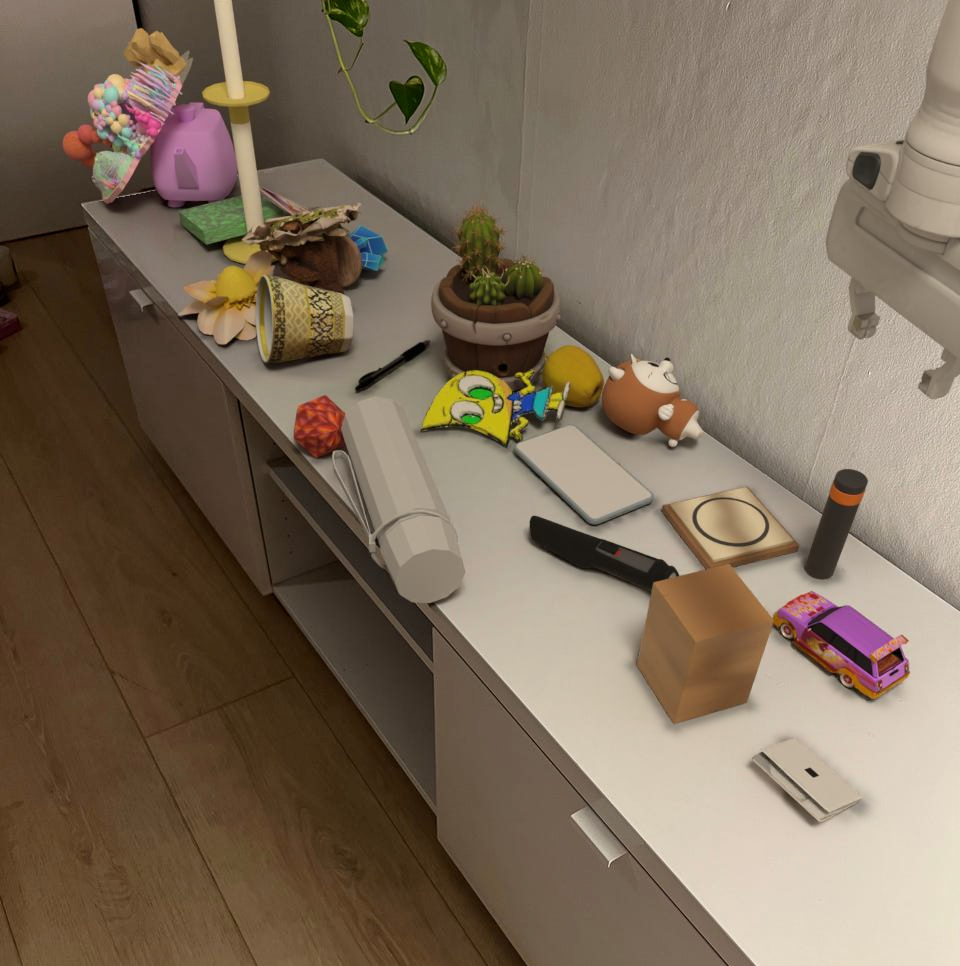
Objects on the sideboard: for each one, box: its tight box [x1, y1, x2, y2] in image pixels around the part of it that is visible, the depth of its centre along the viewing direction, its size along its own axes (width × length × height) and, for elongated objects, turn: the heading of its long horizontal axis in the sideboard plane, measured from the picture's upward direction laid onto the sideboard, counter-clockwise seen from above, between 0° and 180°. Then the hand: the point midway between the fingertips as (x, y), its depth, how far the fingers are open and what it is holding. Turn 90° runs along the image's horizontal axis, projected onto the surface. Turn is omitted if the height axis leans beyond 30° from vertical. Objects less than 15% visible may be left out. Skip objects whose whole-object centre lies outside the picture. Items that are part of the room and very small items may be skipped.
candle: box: [201, 0, 280, 265], centre depth 127 cm, size 10×10×38 cm
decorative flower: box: [176, 250, 287, 345], centre depth 127 cm, size 15×11×10 cm
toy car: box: [772, 590, 911, 700], centre depth 87 cm, size 6×12×5 cm, turn 35°
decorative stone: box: [293, 394, 346, 459], centre depth 106 cm, size 6×7×8 cm
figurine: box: [601, 353, 704, 448], centre depth 109 cm, size 9×9×12 cm
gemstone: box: [335, 224, 389, 288], centre depth 135 cm, size 7×9×12 cm
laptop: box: [751, 737, 863, 823], centre depth 78 cm, size 7×6×2 cm
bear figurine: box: [241, 201, 363, 295], centre depth 128 cm, size 14×15×12 cm
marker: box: [803, 468, 869, 580], centre depth 92 cm, size 3×3×11 cm
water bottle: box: [331, 396, 466, 604], centre depth 97 cm, size 9×8×25 cm
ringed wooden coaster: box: [661, 485, 800, 570], centre depth 100 cm, size 10×10×1 cm
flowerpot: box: [430, 197, 562, 398], centre depth 112 cm, size 14×15×20 cm
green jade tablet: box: [177, 194, 285, 245], centre depth 143 cm, size 11×12×2 cm
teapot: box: [150, 101, 238, 208], centre depth 148 cm, size 20×12×13 cm, turn 3°
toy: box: [420, 370, 571, 449], centre depth 110 cm, size 10×1×15 cm
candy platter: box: [61, 27, 194, 205], centre depth 143 cm, size 25×24×9 cm
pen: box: [354, 339, 431, 392], centre depth 120 cm, size 14×2×1 cm, turn 144°
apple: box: [541, 344, 605, 408], centre depth 114 cm, size 6×6×8 cm
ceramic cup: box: [256, 275, 355, 364], centre depth 120 cm, size 13×10×10 cm
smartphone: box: [513, 424, 655, 526], centre depth 105 cm, size 8×1×15 cm
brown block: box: [636, 564, 774, 725], centre depth 82 cm, size 7×7×10 cm
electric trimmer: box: [529, 515, 680, 592], centre depth 95 cm, size 4×16×3 cm, turn 59°
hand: (894, 363), depth 80 cm, fingers open, 8 cm apart
